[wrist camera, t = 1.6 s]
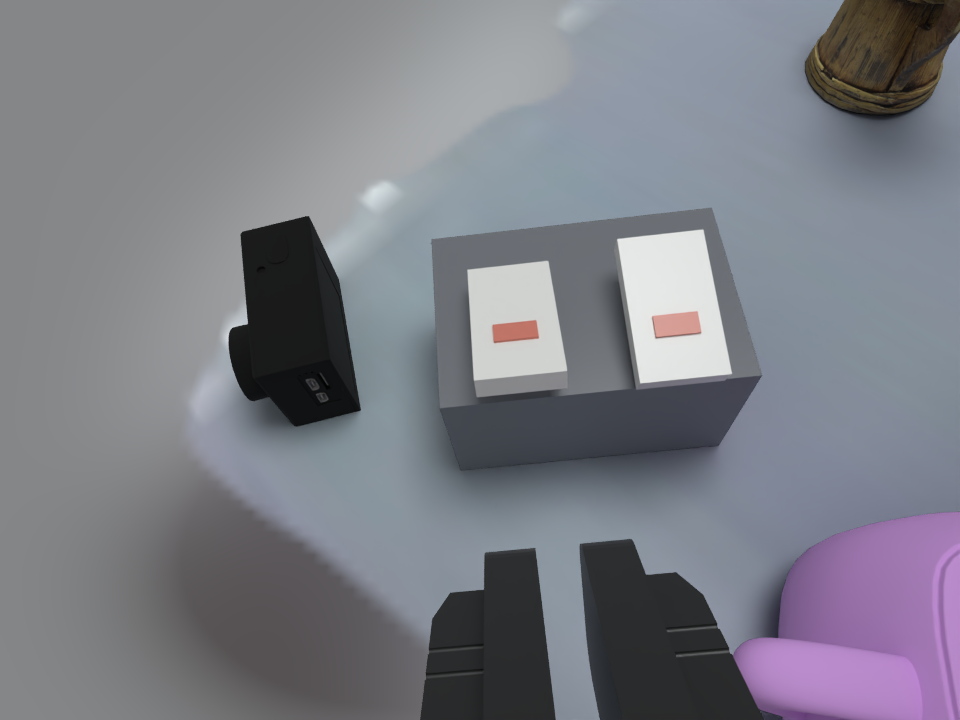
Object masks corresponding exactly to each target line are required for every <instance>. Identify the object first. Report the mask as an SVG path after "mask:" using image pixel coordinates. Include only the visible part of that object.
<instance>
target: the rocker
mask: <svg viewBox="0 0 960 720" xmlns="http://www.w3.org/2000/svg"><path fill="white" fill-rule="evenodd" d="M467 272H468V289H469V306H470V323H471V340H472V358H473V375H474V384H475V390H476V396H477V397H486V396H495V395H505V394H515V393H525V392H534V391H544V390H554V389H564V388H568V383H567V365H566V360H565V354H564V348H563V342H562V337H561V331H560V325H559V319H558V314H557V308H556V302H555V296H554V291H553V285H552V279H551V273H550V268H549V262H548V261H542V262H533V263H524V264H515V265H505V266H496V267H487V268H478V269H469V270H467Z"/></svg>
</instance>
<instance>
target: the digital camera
mask: <svg viewBox="0 0 960 720" xmlns="http://www.w3.org/2000/svg"><path fill="white" fill-rule="evenodd" d="M241 246H242V258H243V270H244V282H245V294H246V306H247V317H248V324H247V325H242V326H238V327H234V328H232V329H231V330H230V333H229V353H230V359H231V363H232V367H233V370H234V373H235V376H236V379H237V381H238V384H239V386H240V388H241V390H242V391H243V393H244V394H245V396H246V397H247V398H248V399H249V400H251V401H255V400H259V399H263V398H267V397H270V398H271V399H272V401H273V402H274V403H275V404H276V405H277V406H278V408H279V409H280V410H281V411H282V412H283V413H284V415H285V416H286V417H287V418H288V419H289V420H290V422H291V423H292V424H293V425H294V426H300V425H304V424H308V423H312V422H316V421H320V420H324V419H328V418H332V417H336V416H340V415H344V414H348V413H352V412H356V411H360V410H361V409H360V403H359V397H358V391H357V385H356V379H355V373H354V367H353V361H352V355H351V349H350V343H349V337H348V331H347V325H346V319H345V313H344V307H343V301H342V295H341V289H340V283H339V279H338V277H337V275H336V273H335V270H334V268H333V266H332V264H331V262H330V260H329V258H328V256H327V253H326V251H325V249H324V247H323V245H322V243H321V241H320V238H319V236H318V234H317V232H316V230H315V228H314V226H313V224H312V222H311V220H310V218H309V216H305V217H302V218H298V219H294V220H289V221H285V222H281V223H277V224H273V225H269V226H265V227H261V228H257V229H252V230H248V231H244V232H242V233H241ZM345 394H346V395H345ZM350 402H351V403H350ZM353 407H354V408H353ZM355 410H356V411H355Z"/></svg>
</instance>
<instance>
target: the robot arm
mask: <svg viewBox="0 0 960 720" xmlns="http://www.w3.org/2000/svg"><path fill="white" fill-rule="evenodd" d="M580 563H581V575H582V587H583V600H584V612H585V624H586V636H587V646H588V654H589V662H590V669H591V675H592V681H593V687H594V692H595V697H596V702H597V707H598V712H599V717H600V720H764V719H763V717H762V715H761V713H760V711H759V709H758V707H757V705H756V703H755V701H754V699H753V696H752V694H751V692H750V690H749V688H748V686H747V684H746V682H745V680H744V678H743V676H742V674H741V672H740V670H739V668H738V666H737V664H736V662H735V659H734V657H733V655H732V654H730V652H729V647H728V645H727V643H726V641H725V639H724V637H723V635H722V633H721V631H720V629H718V627H717V622H716V620H715V618H714V616H713V614H712V612H711V610H710V608H709V606H708V604H707V602H706V600H705V598H704V596H703V594H702V593H700V592H699V591H698V590H697V589H695V588H694V587H693V586H692V585H691V584H689V583H688V582H687V581H686V580H685V579H683V578H682V577H681V576H680V575H679V574H677V573H676V572H675V573H664V574H653V575H646V574H645V571H644V569H643V566H642V563H641V561H640V558H639V555H638V553H637V550H636V547H635V545H634V542H633V541H632V539H627V540H616V541H605V542H595V543H584V544H580ZM420 720H556V719H555V710H554V702H553V694H552V685H551V677H550V668H549V660H548V652H547V643H546V635H545V626H544V618H543V609H542V601H541V593H540V584H539V576H538V567H537V559H536V551H535V548H531V549H520V550H509V551H498V552H487V553H485V562H484V590H476V591H465V592H454V593H450V594H449V595H448V597H447V598H446V600H445V601H444V603H443V604H442V606H441V607H440V609H439V610H438V611H437V613H436V614H435V616H434V617H433V619H432V626H431V635H430V643H429V654H428V660H427V669H426V680H425V685H424V693H423V702H422V710H421V719H420Z"/></svg>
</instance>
